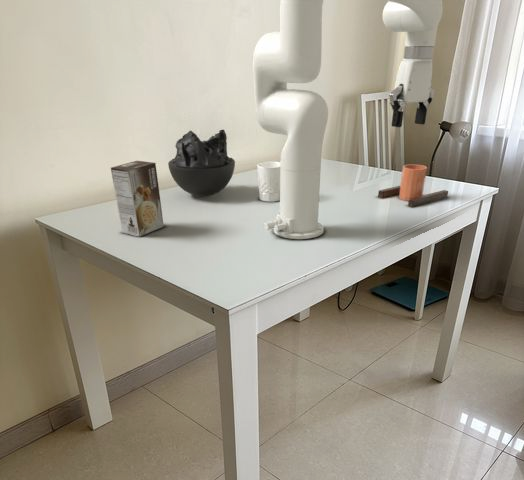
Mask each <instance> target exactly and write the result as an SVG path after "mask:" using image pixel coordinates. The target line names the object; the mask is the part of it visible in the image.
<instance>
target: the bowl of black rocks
mask: <svg viewBox="0 0 524 480" xmlns="http://www.w3.org/2000/svg"><path fill="white" fill-rule="evenodd" d="M227 140H228V137H227V133H226V131H225V129H219V131H218V133H215V134H214V135H211V136H210V137H209V138H208V139H207V140H200V138H199V137H198V135H197V134H196V133H195V132H194V131H192V130H189V131H187V133H185V134H183V135H182V137H181V138H179V139H178V140H177V141H176V143H175V146H174V147H175V148H176V154H175V157H174V158H172V159H170V160H169V161H168V163H167V165H168V170H169V173H170V175H171V177H172V179H173V180H174V182H175V183H176V184H177V186H178V187H179V188H180V189H182V191H184V192H186V193H188V194H190V195H193V196H197V197H210V196H212V195H215V194H218V193H219V192H221V191H222V190H224V189H225V188H226V187H227V185H228V184H229V183H230V181H231V179H232V177H233V175H234V172H235V167H236V161H235V159H234V158H233V157H229V156H228V146H227V145H228V141H227Z"/></svg>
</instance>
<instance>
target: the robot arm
mask: <svg viewBox="0 0 524 480" xmlns="http://www.w3.org/2000/svg"><path fill="white" fill-rule="evenodd" d="M279 1H280V2H279V31H271V32H267V33H265V34H264V35H262V36H261V37H260V39H259V40H258V41H257V43H256V45H255V48H254V50H253V55H252V56H253V57H252V76H253V77H252V78H253V90H254V91H253V92H254V106H255V114H256V118H257V122H258V125H259V126H260V128H261V129H263V130H264V131H266V132H268V133H271V134H276V135H281V136H282V135H283V136H287V139H286V141H285V143H284V146H283V147H282V150H281V153H280V160H279V162H280V200H279V213H277V214H276V217H275V218H274V219H273V220H268V221H265V222H264V223H263V229H264V230H266V231H268V230H272V229H273V233H275V235H276V236H279V237H281V238H284V239H290V240H308V239H313V238H317V237H319V236H321V235H323V234H324V231H325V226H324V225H323V224H322V223H320V222H319V209H320V207H319V206H320V188H321V170H322V169H321V168H322V167H321V166H322V154H323V153H322V151H323V145H324V144H323V143H324V136H325V132H326V128H327V124H328V120H329V107H328V104H327V101H326V100H325V98H324V97H323V96H322V95H320V94H319V93H317V92H315V91H312V90H305V89H296V88H295V89H294V88H293V89H292V88H290V89H289V88H287V87H288V84H308V83H311V82H313V81H314V80H316V79H317V78H318V76H319V74H320V72H321V68H322V67H321V66H322V38H323V37H322V34H323V33H322V32H323V31H322V30H323V29H322V28H323V26H322V25H323V5H324V0H279ZM384 1H386V4H385V5H384V7H383V10H382V23H383V24H384V26H385V28H386V29H387V30H388V31H391V32H394V33H406V34H405V35H406V36H405V43H404V50H403V58H402V60H401V61H400V64H399V68H398V70H397V74H396V78H395V83H394V89H393V90H392V91H391V92H389V94H388V96H389V101H390V102H389V105H390V106H391V111H392V117H391V118H392V119H391V127H394V128H402V126H403V120H404V119H403V118H404V111H403V110H404V108H405V106H406V105H407V104H415V103H416V104H417V106H418V107H417V108H416V110H415V117H414V124H415V125H423V126H424V125H425V124H426V118H427V113H428V109H430V104H431V103H432V102H433V98H434V95H435V93H436V90H435V89H434V88H433V87H432V80H433V79H432V78H433V58H434V51H435V45H436V39H437V33H438V26H439V24H440V22H441V21H442V18H443V12H444V11H443V10H444V5H443V0H384Z"/></svg>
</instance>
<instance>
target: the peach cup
mask: <svg viewBox="0 0 524 480" xmlns="http://www.w3.org/2000/svg"><path fill="white" fill-rule="evenodd" d="M401 171H402V172H401V179H400V185H399V186H400V192H399V194H398V198H399V199H400V200H403V201H407V202H409V199H411V198H415V197H419V196H423V195H424V190H425V189H424V188H425V183H426V177H427V171H428V167H427V166H426V165H423V164H412V163H411V164H404V165H403V166H402V170H401Z"/></svg>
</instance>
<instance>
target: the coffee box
mask: <svg viewBox="0 0 524 480" xmlns="http://www.w3.org/2000/svg"><path fill="white" fill-rule="evenodd" d="M156 164H157V163H156V162H152V161H151V162H150V161H143V160H135V161H131V162H126V163H123V164H119V165H116V166H112V167H110V171H111V177H112V182H113V183H112V184H113V189H114V194H115V199H116V205H117V212H118V216H119V223H120V229H121V233H122V234H126V235H130V236H135V237H143V236H145V235H147V234H150V233H152V232H154V231H156V230H159V229H162V228H164V227H165V226H164V224H165V223H164V218H163V209H162V203H161V194H160V187H159V179H158V172H157V165H156Z"/></svg>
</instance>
